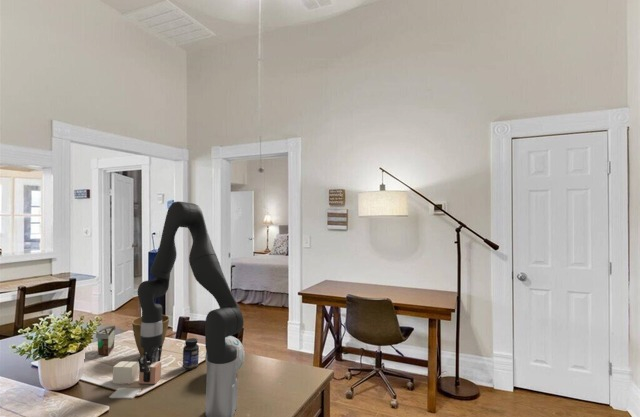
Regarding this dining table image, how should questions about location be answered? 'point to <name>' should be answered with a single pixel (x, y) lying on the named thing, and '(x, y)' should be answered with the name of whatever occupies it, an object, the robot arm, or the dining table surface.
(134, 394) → the mat
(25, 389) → the dining table surface
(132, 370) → the cream rounded block
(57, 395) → the dining table surface
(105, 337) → the food container
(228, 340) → the puzzle ball
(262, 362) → the dining table surface
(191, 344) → the pill bottle
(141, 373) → the pink block
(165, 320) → the plant pot
